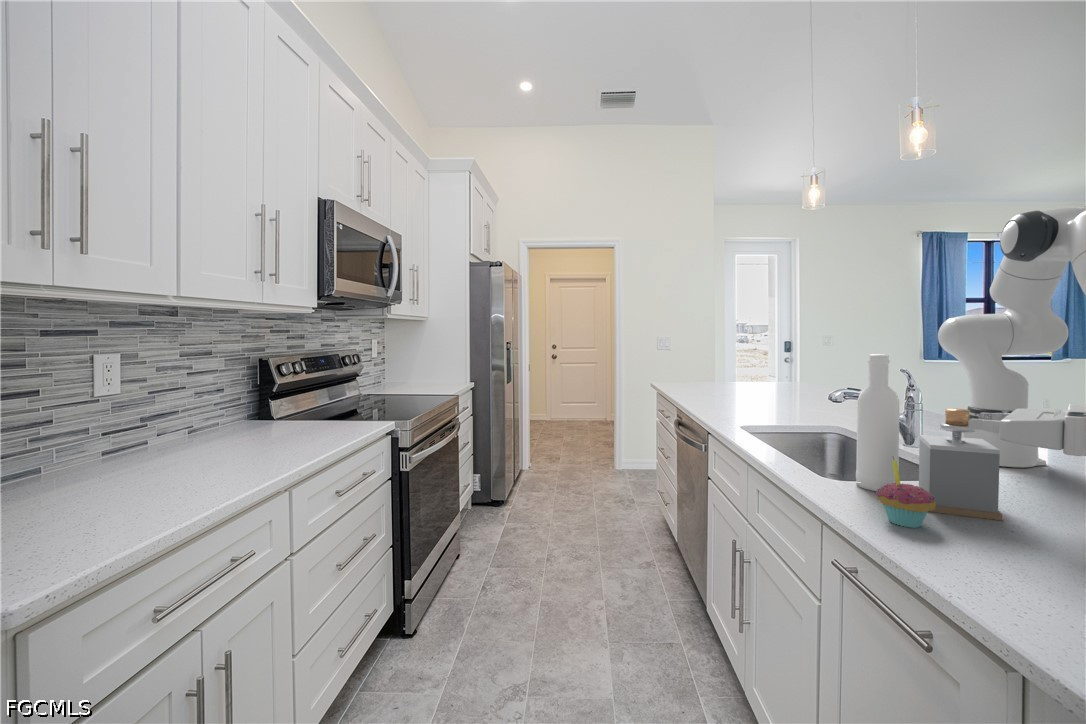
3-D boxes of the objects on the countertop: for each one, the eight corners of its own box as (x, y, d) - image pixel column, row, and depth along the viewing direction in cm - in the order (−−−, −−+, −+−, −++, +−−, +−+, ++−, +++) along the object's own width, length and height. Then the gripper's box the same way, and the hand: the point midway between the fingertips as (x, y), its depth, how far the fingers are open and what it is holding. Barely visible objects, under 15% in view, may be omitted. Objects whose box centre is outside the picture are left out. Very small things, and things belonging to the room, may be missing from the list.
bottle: (865, 491, 104) (867, 355, 102) (849, 481, 111) (850, 354, 110) (906, 493, 102) (909, 354, 101) (887, 482, 110) (889, 353, 108)
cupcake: (870, 522, 87) (871, 458, 87) (884, 510, 93) (885, 450, 92) (929, 536, 81) (930, 467, 80) (940, 523, 86) (942, 458, 85)
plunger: (927, 490, 99) (928, 406, 98) (974, 496, 95) (976, 408, 94) (935, 502, 92) (937, 411, 92) (987, 508, 89) (989, 413, 88)
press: (915, 494, 101) (916, 434, 101) (983, 501, 96) (984, 438, 95) (926, 511, 92) (927, 445, 91) (1002, 520, 86) (1004, 450, 86)
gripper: (1086, 405, 87) (984, 398, 97) (1080, 418, 74) (963, 409, 85) (1085, 439, 87) (983, 429, 98) (1078, 458, 74) (962, 444, 85)
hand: (974, 420), depth 91 cm, fingers open, 8 cm apart
